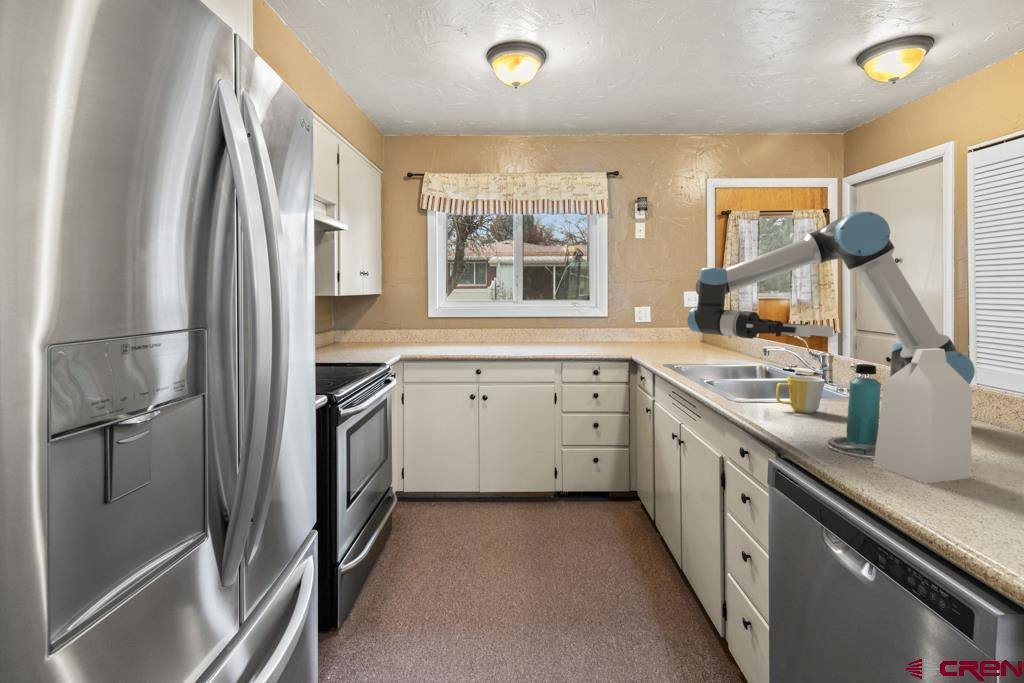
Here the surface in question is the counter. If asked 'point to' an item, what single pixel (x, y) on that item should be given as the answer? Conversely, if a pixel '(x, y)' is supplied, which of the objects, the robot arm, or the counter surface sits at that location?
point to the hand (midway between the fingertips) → (821, 331)
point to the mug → (803, 393)
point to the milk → (926, 421)
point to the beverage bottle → (863, 407)
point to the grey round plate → (851, 447)
